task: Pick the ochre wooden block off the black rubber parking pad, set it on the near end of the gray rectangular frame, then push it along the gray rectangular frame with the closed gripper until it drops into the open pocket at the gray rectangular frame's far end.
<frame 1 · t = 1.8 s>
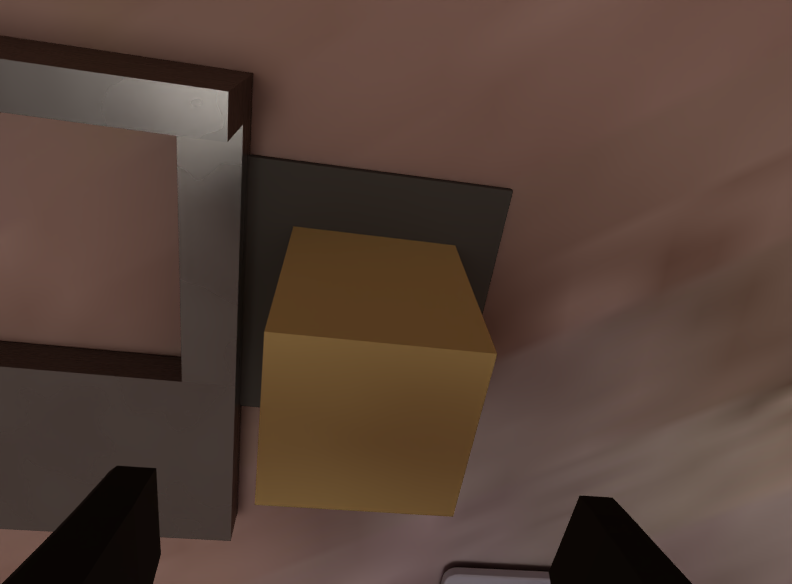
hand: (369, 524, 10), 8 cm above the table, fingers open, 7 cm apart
parking pad: (365, 303, 17), on the table
block: (365, 307, 17), resting on parking pad
gray rectangular frame: (69, 333, 17), on the table
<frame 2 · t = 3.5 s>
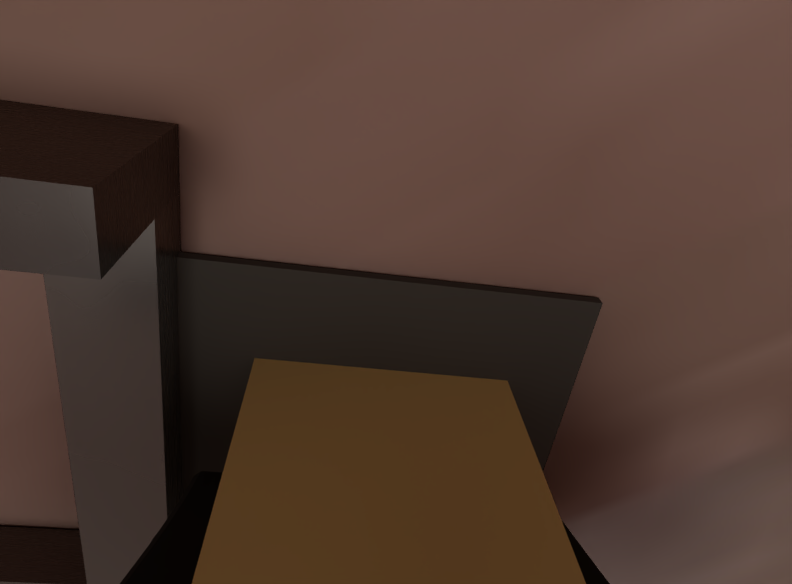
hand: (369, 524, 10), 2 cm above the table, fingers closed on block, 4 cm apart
parking pad: (368, 457, 11), on the table
block: (368, 464, 11), resting on parking pad, touching gripper
when the fingers open (4 cm above the table, at t = 6.3 s): block stays where it is, resting on gray rectangular frame.
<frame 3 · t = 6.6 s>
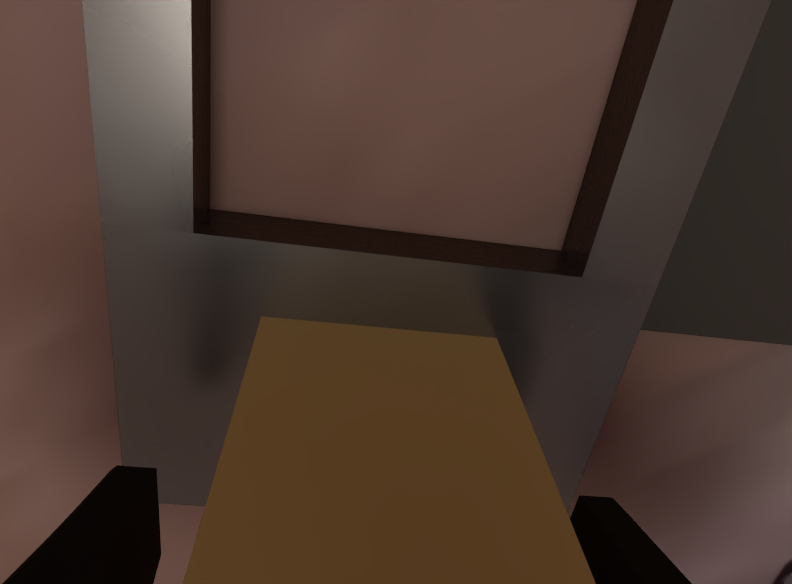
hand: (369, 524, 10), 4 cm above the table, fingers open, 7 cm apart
block: (367, 420, 12), point 1 cm above the table, touching gray rectangular frame
gray rectangular frame: (395, 207, 11), on the table
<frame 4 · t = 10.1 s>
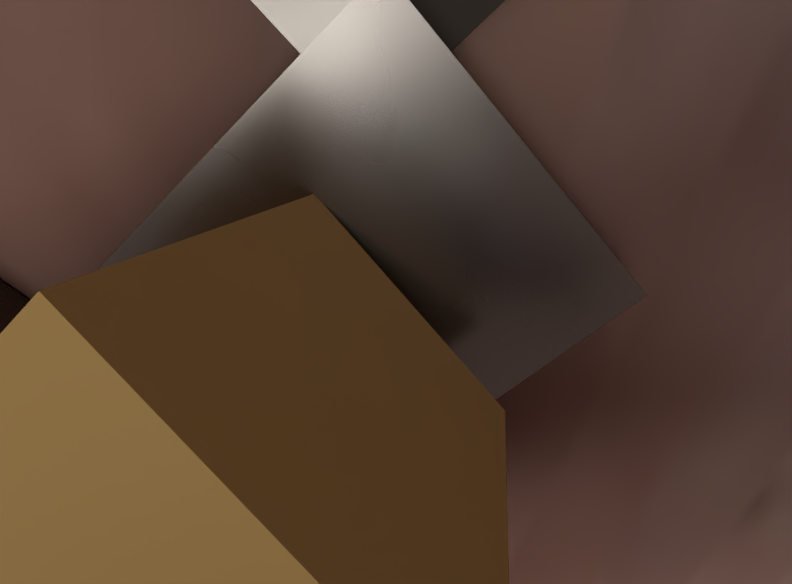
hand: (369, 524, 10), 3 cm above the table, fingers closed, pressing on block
block: (311, 385, 10), point 2 cm above the table, tilted 17°, touching gripper, gray rectangular frame
gray rectangular frame: (142, 174, 10), on the table
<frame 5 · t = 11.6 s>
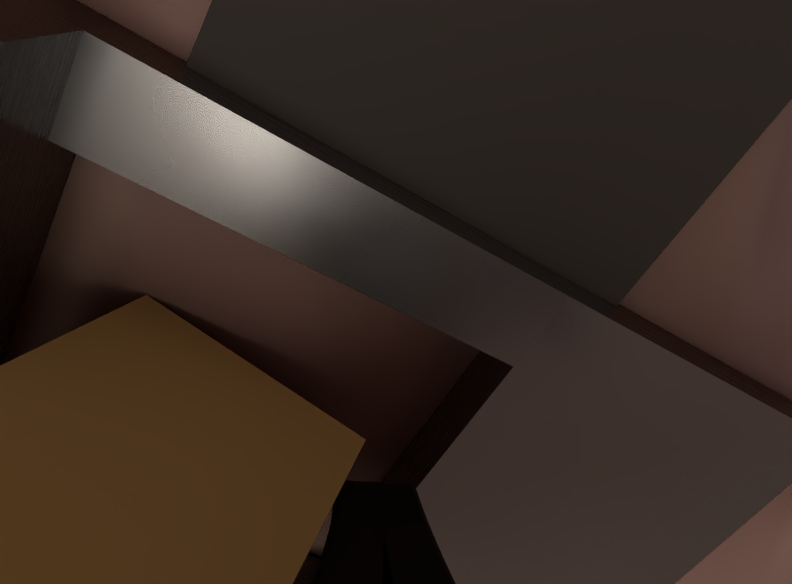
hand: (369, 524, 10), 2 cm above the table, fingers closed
block: (206, 456, 11), point 1 cm above the table, tilted 19°, touching gripper
gray rectangular frame: (379, 448, 12), on the table
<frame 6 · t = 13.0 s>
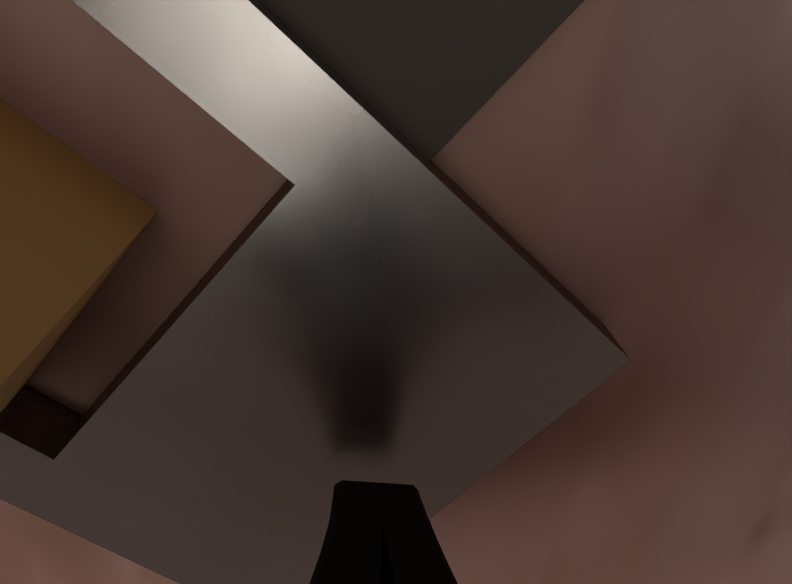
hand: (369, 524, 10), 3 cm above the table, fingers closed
gray rectangular frame: (156, 286, 10), on the table
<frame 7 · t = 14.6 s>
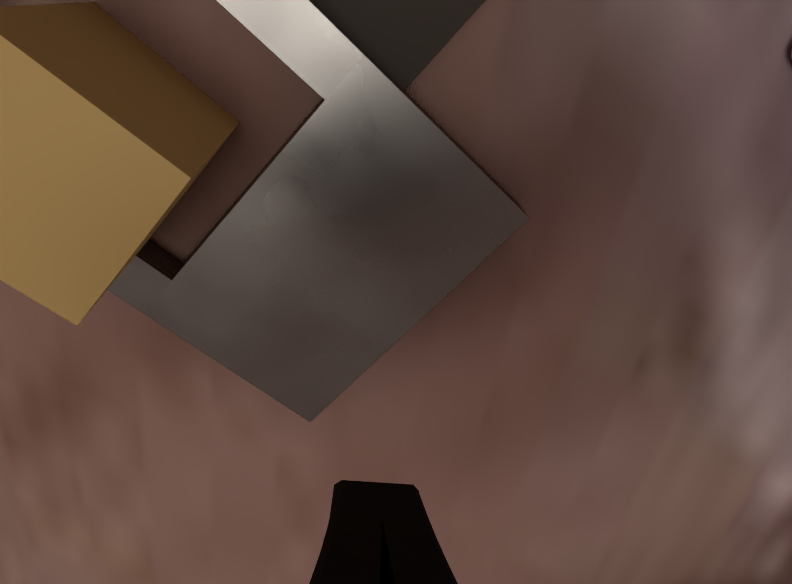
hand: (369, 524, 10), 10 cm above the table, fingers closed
block: (126, 128, 16), resting in gray rectangular frame
gray rectangular frame: (236, 172, 17), on the table
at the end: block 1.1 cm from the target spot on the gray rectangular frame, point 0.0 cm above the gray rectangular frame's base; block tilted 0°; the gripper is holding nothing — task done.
